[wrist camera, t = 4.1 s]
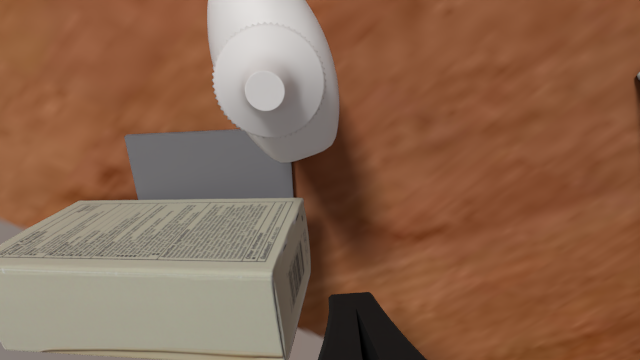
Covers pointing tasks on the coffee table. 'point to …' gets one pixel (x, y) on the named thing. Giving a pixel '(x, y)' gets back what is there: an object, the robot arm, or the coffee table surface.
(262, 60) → the eye dropper bottle
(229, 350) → the skincare box
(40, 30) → the coffee table surface
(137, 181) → the mat
